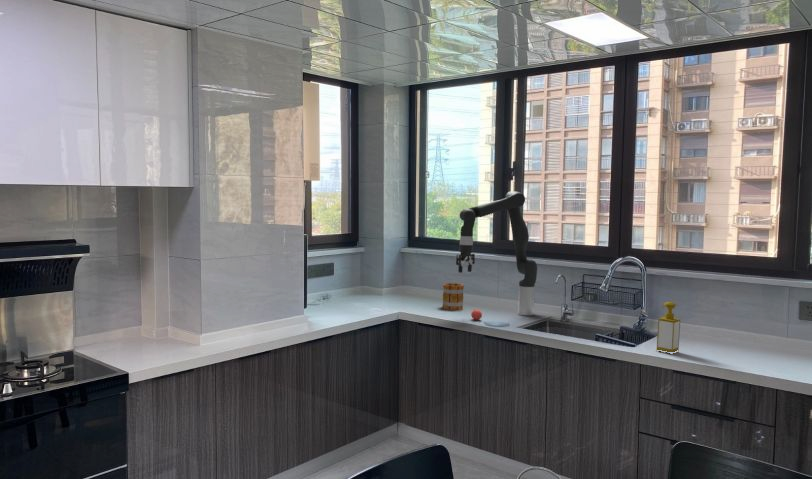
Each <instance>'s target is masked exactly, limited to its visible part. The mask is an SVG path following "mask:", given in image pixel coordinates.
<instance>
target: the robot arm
mask: <svg viewBox="0 0 812 479" xmlns="http://www.w3.org/2000/svg"><path fill="white" fill-rule="evenodd" d="M525 202H526V198H525V195H524V193H522V192H519V191H515V190H511V191H508V192H507V193H506V194H505V198H501V199H499V200H494V201H493V200H492V201H488V202H485V203H481V204H479V205H476V206H472V207H468V208H465V209H462V210H461V211H460V213H459V218H460V220H461V221H463V224H462V226H461V228H460V237H459V250H458V251H459V254H456V257H455V258H456V259H455V261H456V262H455V265H456V266H457V267H458V270H457V271H458V273H463V265H464V264H465V263H467V272H470V273H472V271H473V270H472V268H473V265H475V263H476V262H475V260H476V259H475V257H476V256H475V253H473V250H474V249H473V248H474V246H473V245H474V237H473V236H474V234H473V233H474V228H475V227H474V226H475V222H476V219H477V218H484V217H486V216H488V215H493V214H495V213H497V212H501V211H504V210H507V212H508V216H509V221H510V227H511V235H512V238H513V243H514V250H515V258H516V259H515V261H516V263H515V264H516V269H517V272H518V273H519V274H522V275H524V277H523V279H521V280H519V282H518V301H517V304H518V305H517V314H518V315H519V316H526V317H527V316H529V317H530V316H533V315H534V314H535V302H536V301H535V287H536V286H535V285H536V282H537V275H538V264H537V262H536V261H535V260H533V259H529V258H527V253H526V252H527V246H528V244H529V240H530V234H529V230H528V226H527V223H526V222H525V219H524V218H523V216H522V213H521V209H520V208H521V207H522V206H523V205H525Z"/></svg>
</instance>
